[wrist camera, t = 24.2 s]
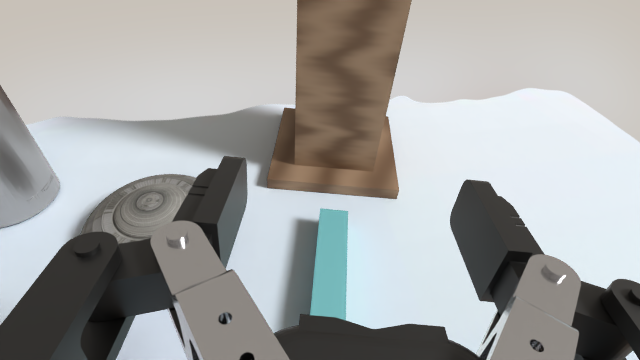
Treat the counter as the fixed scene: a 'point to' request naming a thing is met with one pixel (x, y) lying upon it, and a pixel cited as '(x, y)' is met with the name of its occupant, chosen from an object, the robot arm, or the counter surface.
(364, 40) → the walnut pedestal
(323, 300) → the teal bar
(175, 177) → the flying saucer
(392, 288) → the counter surface
